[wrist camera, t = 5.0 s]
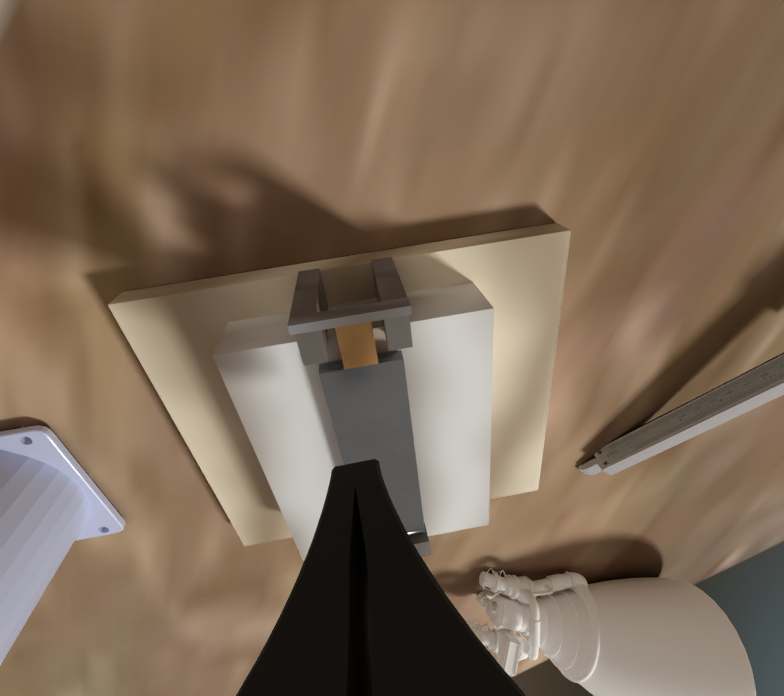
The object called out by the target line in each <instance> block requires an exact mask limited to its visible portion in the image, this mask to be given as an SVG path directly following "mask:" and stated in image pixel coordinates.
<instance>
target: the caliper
mask: <svg viewBox="0 0 784 696" xmlns="http://www.w3.org/2000/svg"><path fill="white" fill-rule="evenodd" d="M782 395H784V353H782V354H780V355H778V356H776V357H774V358H772V359H770V360H769V361H767V362H765V363H763V364H761V365H759V366H757V367H755V368H753V369H751V370H749V371H747V372H745V373H743V374H741V375H740V376H738V377H736V378H734V379H732V380H730V381H728V382H726V383H724V384H722V385H720V386H718V387H716V388H714V389H712V390H710V391H709V392H707V393H705V394H703V395H701V396H699V397H697V398H695V399H693V400H691V401H689V402H687V403H685V404H683V405H681V406H679V407H677V408H675V409H673V410H671V411H669V412H667V413H665V414H663V415H661V416H659V417H657V418H655V419H653V420H652V421H650V422H648V423H646V424H644V425H642V426H640V427H638V428H636V429H634V430H632V431H630V432H628V433H626V434H624V435H622V436H620V437H618V438H616V439H614V440H613V441H611V442H610V443H609V444H607V445H606V446H604V447H603V448H602V449H600V450H599V451H598V452H596V453H595V454H594V456H595V458H594V459H591V460H589V461H587V462H585V463H583V464H581V465H580V466H578V469H579V470H580V471H582V472H583V473H585V474H586V475H595V474H597V473H599V472H601V471H604V472H606V473H607V474H609V475H610V476H611V475H613V474H615V473H617V472H619V471H621V470H624V469H626V468H628V467H630V466H632V465H634V464H636V463H639V462H641V461H643V460H645V459H647V458H649V457H652V456H654V455H656V454H658V453H660V452H662V451H664V450H667V449H669V448H671V447H673V446H675V445H677V444H680V443H682V442H684V441H686V440H688V439H690V438H692V437H694V436H697V435H699V434H701V433H703V432H705V431H707V430H709V429H712V428H714V427H716V426H718V425H720V424H722V423H724V422H726V421H729V420H731V419H733V418H735V417H737V416H739V415H741V414H743V413H746V412H748V411H750V410H752V409H754V408H756V407H758V406H760V405H763V404H765V403H767V402H769V401H771V400H773V399H775V398H778V397H780V396H782Z"/></svg>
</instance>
